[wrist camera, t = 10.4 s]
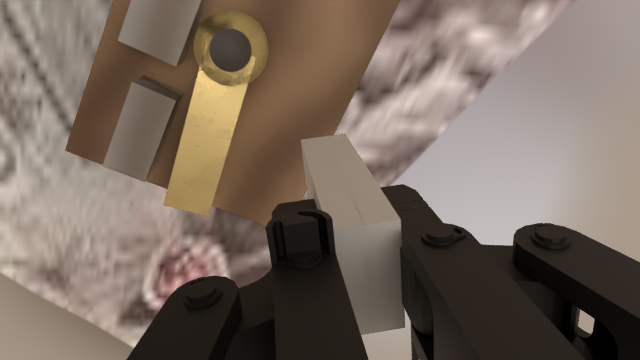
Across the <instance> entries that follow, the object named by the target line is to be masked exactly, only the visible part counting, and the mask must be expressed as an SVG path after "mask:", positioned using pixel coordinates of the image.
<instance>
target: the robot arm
mask: <svg viewBox="0 0 640 360" xmlns="http://www.w3.org/2000/svg"><path fill="white" fill-rule="evenodd" d="M301 145H302V153H303V162H304V170H305V178H306V186H307V194H308V199H307V200H301V201H294V202H287V203H280V204H278V205H277V206H276V208H275V209H274V210H273V212H272V219H271V220H270V221H269V222H268V224H267V226H266V233H267V239H268V245H269V251H270V257H271V263H272V268H271V270H270V271H269V272H268V273H267V274H266V275H265V276H264V277H262V278H261V279H259V280H258V281H256V282H254V283H251V284H249V285H247V286H244V287H241V288H238V287H237V285H236V284H235V282H234V281H233V280H231V279H229V278H227V277H221V276H209V277H201V278H197V279H194V280H192V281H189V282H187V283H186V284H184V285H182V286H181V287H179V288H177V289H176V290H175V291H174V292H173V293H172V294H171V295H170V296H169V298H168V299H167V301H166V302H165V304H164V305H163V306H162V308H161V309H160V311H159V312H158V314H157V315H156V317H155V318H154V320H153V321H152V323H151V324H150V326H149V327H148V329H147V330H146V332H145V333H144V335H143V336H142V338H141V339H140V340H139V342H138V343H137V345H136V346H135V348H134V349H133V351H132V352H131V354H130V355H129V357H128V358H127V360H368V357H367V353H366V350H365V347H364V344H363V341H362V337H361V335H363V334H369V333H375V332H381V331H387V330H393V329H399V328H404V327H405V313H404V308H405V310H406V312H407V314H408V316H409V318H410V321H411V344H412V360H419V359H420V360H640V262H638V261H636V260H634V259H632V258H630V257H627V256H626V255H624V254H622V253H620V252H617V251H615V250H613V249H611V248H609V247H607V246H605V245H603V244H601V243H599V242H597V241H595V240H593V239H591V238H589V237H587V236H585V235H583V234H581V233H579V232H577V231H574V230H572V229H569V228H566V227H563V226H558V225H554V224H550V223H545V224H543V223H538V224H533V225H527V226H524V227H522V228H520V229H518V230H517V231H516V233H515V234H514V241H513V246H503V245H502V246H501V245H482V244H480V243H479V242H478V241H477V240H476V239H475V238H474V236H472V234H471V233H469V232H468V231H467V230H465V229H464V228H462V227H459V226H456V225H453V224H445V223H443V222H442V221H441V220H440V219H439V217H438V216H437V215H436V214H435V213H434V211H433V210H432V209H431V208H430V207H428V204H427V203H426V202H425V201H424V200H423V198H422V197H421V196H420V195H419V193H418V192H417V191H416V190H414V189H412V188H410V187H408V186H405V185H403V184H402V185H395V186H388V187H381V188H380V187H379V185H378V184H377V182H376V181H375V179H374V178H373V176H372V175H371V173H370V171H369V170H368V168H367V167H366V165H365V164H364V162H363V161H362V159H361V158H360V156H359V155H358V153H357V152H356V150H355V148H354V147H353V145H352V144H351V142H350V141H349V139H348V138H347V136H346V135H345V134H339V135H331V136H324V137H316V138H309V139H301ZM580 309H581V310H582V311H584V312H586V313H587V314H588V315H590V316H591V317H593V318H594V319H595V321H594V328H593V332H592V334H589V333H587V332H585V331H584V330H582V329H581V328H579V327H578V321H579V314H580Z"/></svg>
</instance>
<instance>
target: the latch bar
mask: <svg viewBox="0 0 640 360" xmlns="http://www.w3.org/2000/svg"><path fill="white" fill-rule="evenodd" d="M224 29H236V30H239V31H241V32H242V33H244V34H245V35H246V37H247V38H248V39H249V41H250V44H251V48H252V53H251V58H250V60H249V62H248V64H247V65H246V66H245V67H244V68H243V69H241V70H239V71H236V72H227V71H224V70H222V69H220V68H218V67H217V66H216V65H215V64H214V62H213V61H212V59H211V57H210V53H209V46H210V42H211V40H212V38H213V37H214V35H215V34H217V33H218V32H219V31H221V30H224ZM194 54H195V58H196V61H197V63H198V65H199V67H200V68H199V72H198V75H197V79H196V83H195V87H194V91H193V94H192V98H191V102H190V106H189V110H188V113H187V117H186V121H185V125H184V129H183V132H182V136H181V140H180V144H179V148H178V151H177V155H176V159H175V163H174V167H173V170H172V174H171V178H170V182H169V186H168V189H167V193H166V197H165V201H164V205H165V206H169V207H173V208H177V209H181V210H185V211H188V212H192V213H196V214H200V215H204V216H209V213H210V209H211V206H212V203H213V199H214V196H215V193H216V189H217V186H218V183H219V179H220V176H221V173H222V169H223V166H224V162H225V159H226V156H227V152H228V149H229V146H230V142H231V139H232V136H233V132H234V129H235V126H236V122H237V119H238V116H239V112H240V109H241V106H242V102H243V99H244V95H245V92H246V89H247V85H248V83H250V82H252V81H253V80H255V79H256V78H257V77H258V76H259V75H260V74H261V72H262V71H263V69H264V67H265V65H266V63H267V59H268V42H267V37H266V33H265V31H264V29H263V27H262V26H261V24H260V23H259V22H258V21H257V20H256V19H255V18H254V17H252V16H251V15H249V14H247V13H245V12H242V11H237V10H226V11H220V12H217V13H214V14H212V15H210V16H209V17H207V18H206V19H205V20H204V21H203V22H202V23H201V25H200V26H199V28H198V30H197V32H196V35H195V38H194Z"/></svg>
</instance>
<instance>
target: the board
mask: <svg viewBox="0 0 640 360" xmlns="http://www.w3.org/2000/svg"><path fill="white" fill-rule="evenodd" d="M399 2H400V0H113V3H112V6H111V10H110V13H109V16H108V19H107V22H106V25H105V28H104V31H103V34H102V37H101V41H100V44H99V47H98V50H97V53H96V56H95V59H94V62H93V65H92V69H91V72H90V75H89V78H88V81H87V84H86V87H85V90H84V93H83V96H82V100H81V103H80V106H79V109H78V112H77V115H76V118H75V121H74V124H73V128H72V131H71V134H70V137H69V140H68V143H67V146H66V149H65V151H67V152H70V153H73V154H75V155H78V156H81V157H83V158H86V159H89V160H91V161H94V162H97V163H99V164H102V165H103V166H104V167H107V168H109V169H112V170H115V171H117V172H120V173H123V174H125V175H128V176H131V177H133V178H136V179H139V180H141V181H144V182H145V181H147V182H150V183H153V184H155V185H158V186H161V187H163V188H166V189H168V186H169V182H170V178H171V174H172V170H173V167H174V163H175V159H176V155H177V151H178V148H179V144H180V140H181V136H182V132H183V129H184V125H185V121H186V117H187V113H188V110H189V106H190V102H191V98H192V94H193V91H194V87H195V83H196V79H197V75H198V72H199V68H200V67H199V65H198V63H197V61H196V58H195V54H194V38H195V35H196V32H197V30H198V28H199V26H200V25H201V23H202V22H203V21H204V20H205V19H206V18H207V17H209V16H210V15H212V14H214V13H217V12H220V11H226V10H237V11H242V12H245V13H247V14H249V15H251V16H252V17H254V18H255V19H256V20H257V21H258V22H259V23H260V24H261V26H262V27H263V29H264V31H265V33H266V37H267V42H268V59H267V63H266V65H265V67H264V69H263V71H262V72H261V74H260V75H259V76H258V77H257V78H256V79H255V80H253V81H252V82H250V83H248V85H247V89H246V92H245V95H244V99H243V102H242V106H241V109H240V112H239V116H238V119H237V122H236V126H235V129H234V132H233V136H232V139H231V142H230V146H229V149H228V152H227V156H226V159H225V162H224V166H223V169H222V173H221V176H220V179H219V183H218V186H217V189H216V193H215V196H214V199H213V203H212V206H214V207H217V208H220V209H222V210H225V211H228V212H230V213H233V214H236V215H238V216H241V217H244V218H246V219H249V220H252V221H254V222H257V223H260V224H262V225H265V226H267V224H268V222H269V221H270V220H271V219H272V212H273V210H274V209H275V208H276V206H277V205H278V204H280V203H287V202H294V201H301V199H302V197H303V195H304V193H305V191H306V189H307V186H306V178H305V170H304V162H303V153H302V145H301V139H309V138H316V137H324V136H331V135H334V133H335V131H336V129H337V127H338V125H339V123H340V121H341V119H342V117H343V115H344V113H345V111H346V109H347V107H348V105H349V103H350V101H351V99H352V97H353V95H354V93H355V91H356V89H357V87H358V85H359V83H360V81H361V79H362V77H363V75H364V73H365V71H366V69H367V67H368V65H369V63H370V61H371V59H372V57H373V55H374V52H375V50H376V48H377V46H378V44H379V42H380V40H381V38H382V36H383V34H384V32H385V30H386V28H387V26H388V24H389V22H390V20H391V18H392V16H393V14H394V12H395V10H396V8H397V6H398V4H399ZM209 53H210V57H211V59H212V61H213V62H214V64H215V65H216V66H217V67H218V68H220V69H222V70H224V71H227V72H236V71H239V70H241V69H243V68H244V67H245V66H246V65H247V64H248V62H249V60H250V58H251V53H252V48H251V44H250V41H249V39H248V38H247V37H246V35H245V34H244V33H242V32H241V31H239V30H236V29H224V30H221V31H219V32H218V33H217V34H215V35H214V37H213V38H212V40H211V42H210V46H209Z"/></svg>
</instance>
